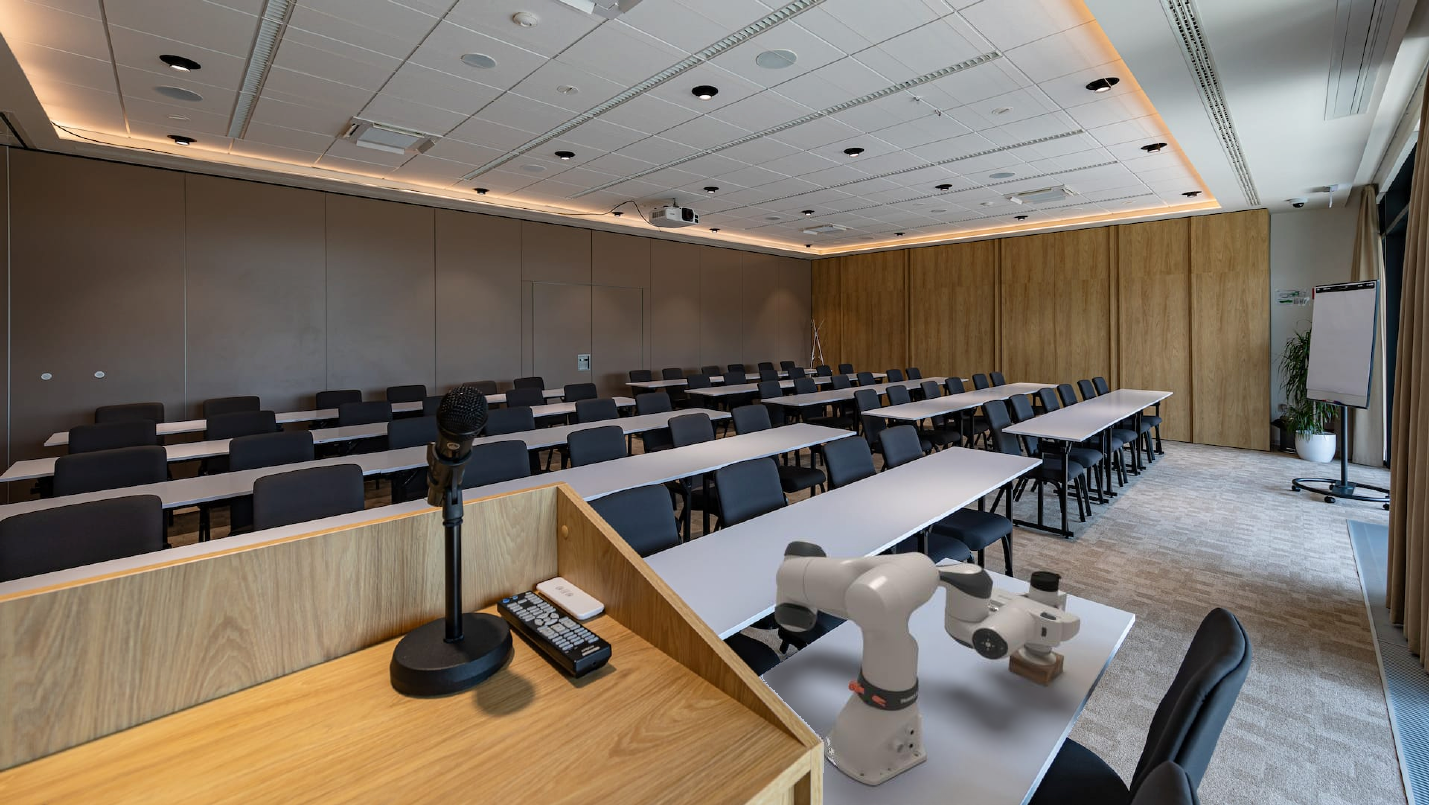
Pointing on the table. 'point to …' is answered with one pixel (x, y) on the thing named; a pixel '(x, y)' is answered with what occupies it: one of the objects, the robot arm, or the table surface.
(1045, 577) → the travel mug
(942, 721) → the table surface
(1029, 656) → the plinth
